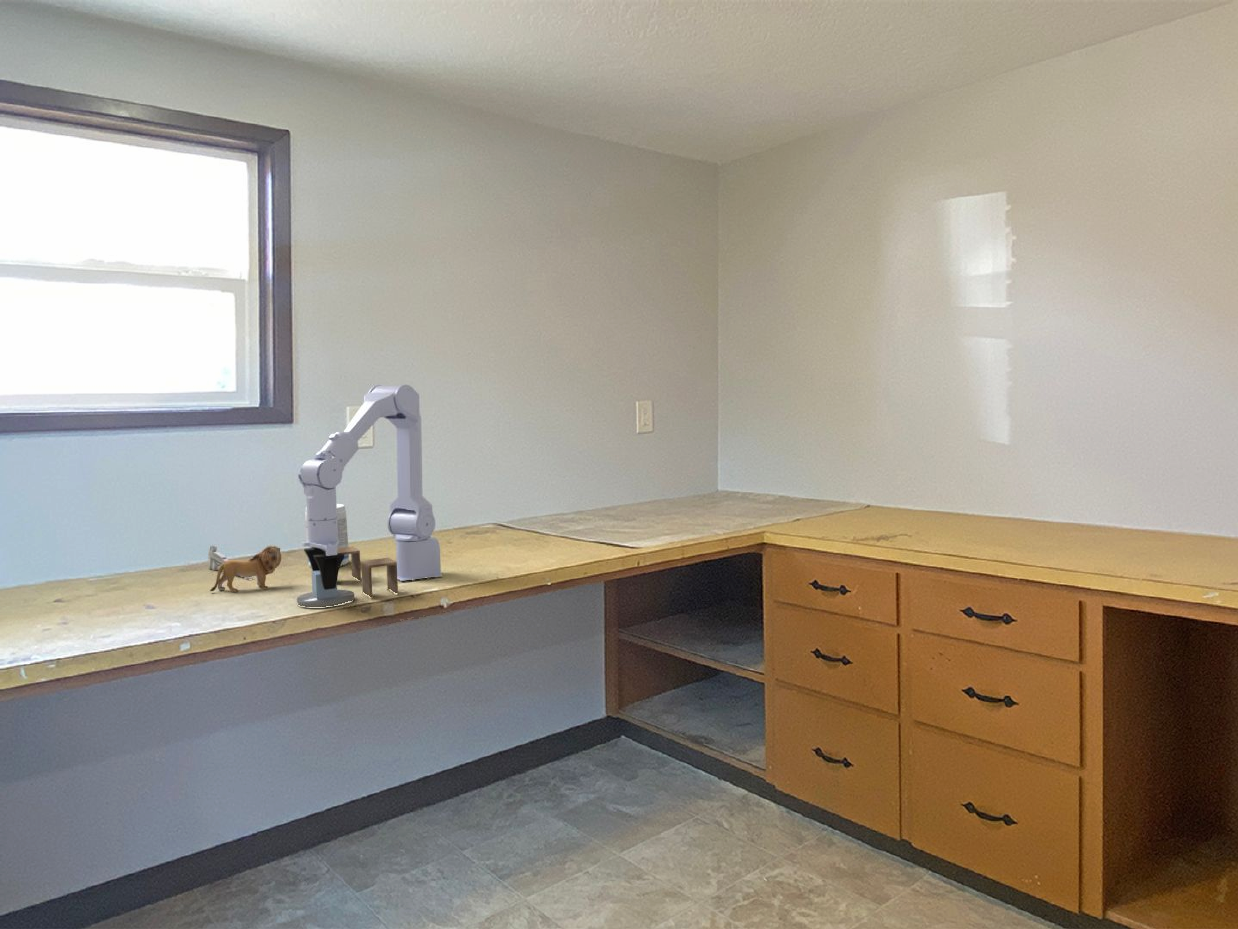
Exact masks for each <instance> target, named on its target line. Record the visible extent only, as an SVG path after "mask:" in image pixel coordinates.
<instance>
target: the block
mask: <svg viewBox="0 0 1238 929" xmlns="http://www.w3.org/2000/svg"><path fill="white" fill-rule="evenodd" d="M311 589H312V591H311V592H312V593H313V596H314V597H315V598H316V599H324V598H331V597H337V590H338V582H337V583H336V588H335V589H328V590H325V589H324V587H323V584H322V579H321V574H320V570H319V571H312V570H311Z"/></svg>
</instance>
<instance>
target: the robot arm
mask: <svg viewBox="0 0 1238 929" xmlns="http://www.w3.org/2000/svg"><path fill="white" fill-rule="evenodd" d="M420 412H421V411H420V394H419V393H418V392H417V391H416V390H415V388H413V386H411V385H409V384H401V385H380V384H379V385H373V386H372V387H371V388H370V389H369V390H368V392H367V393H366V394H365V395H364V396H363V403H362V405H361V406H360V408H359V409H358V411H357V412H356V413H355V415H354V416H353V417H352V419H351V420H350V421H349V423H348V425H347V426H346V427H345V429H344V431H336V432H335V433H330V435H329V437H328V441H327V442H326V443H325V444H324V446H323V447H322V448H321V449H320V450H319V451H317V453H316V454H315V456H314V458H311V459H308V460H306V461H305V462H304V463H303V465H302V466H301V467H300V471H299V473H298V474H297V478H298V480H299V483H300V484H301V485H302V488H303V493H304V495H305V503H306V504H305V505H306V507H307V525H308V541H307V540H306V541H302V542H301V546H302V547H306V548H304V549H303V551H304V553H305V554H306V556H307V559H308V558H309V561H310V564H311V571H319V570H320V574H321V579H322V584H323V587H324V589H325V590H328V589H335V588H336V583H337V584H338V576H339V571H340V567H341V566H340V565H341V563H342V561H343V559H344V554H343V553H341V554H337V546H338V544H339V539H338V525H337V504H338V503H337V486H338V485H339V484H341V482H342V478H343V472H344V470H345V467H346V465H347V464H348V463H349V462H350V461H351V459H352V458H354V456H355V454H356V453H357V452H358V450H359V441H360V439H361V438H363V436H364V435H365V434H366V433H367V432H368V431H369V430H370V429H371V427H373V425H374V424H376V422H377V421H378V420H379V419H381V418H383V419H386V420H388V421H389V422H390V423H391V424H392V425H393V426H394V427H395V428H396V471H397V474H396V475H397V482H396V483H397V497H396V498H395V499H394V500H393V501H392V502H391V503H390V505H389V514H388V516H387V524H386V526H387V529H388V532H389V533H390V534H391V535H392V536H393V539H394V540H395V554H396V555H395V556H396V558H395V559H396V562H397V578H398V579H399V580H401V581H405V580H412V579H419V578H425V577H435V578H440V577H439V576H441V577H442V576H443V575H442V573H441V572H442V570H441V567H442V566H441V547H440V543H439V540H438V538H437V537H436V536H432V535H433V533H434V531H435V529H436V518H435V516H434V513H433V512H434V511H433V505H432V503H431V502H430V501H428V500H427V498H426V497H425V496H424V495H423V460H422V459H423V455H422V454H423V452H422V450H423V448H422V445H423V444H422V442H423V441H422V439H423V438H422V416H421V413H420ZM307 546H310V547H312V548H307ZM398 579H397V580H398ZM399 580H398V581H399ZM401 581H400V582H401ZM412 581H413V580H412ZM405 582H406V581H405Z"/></svg>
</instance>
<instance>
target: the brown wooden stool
mask: <svg viewBox="0 0 1238 929" xmlns="http://www.w3.org/2000/svg"><path fill="white" fill-rule="evenodd" d="M381 567H386V580H387V581H386V584H387V585H386V586H387V590H388V589H391V590H392V591H393V592H395V593H398V594H399V586H398V584H399V583H398V581H399V580H398V579H397V560H394V559H392V558H390V557H384V558H383V557H382V558H375V559H367V560H365V559H364V560H360V568H361V585H362V586H361V587H362V593H363V592H364V593H365V594H367V595H369V596H370V597H372V596H373V577H372V576H373V575H372V574H373V573H372V568H381Z"/></svg>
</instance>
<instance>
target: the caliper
mask: <svg viewBox="0 0 1238 929" xmlns="http://www.w3.org/2000/svg"><path fill="white" fill-rule="evenodd" d="M209 547H210V548H209V549H208V554H207V555H208V556H207V558H208V559H207V560H208V569H209V570H210V569H211V571H213V570H214V571H218V570H219V567H220V566H221V565H222V564H223V563H224V562H225V561H228V560H229V559H228V558H227V556H225V555H224V554H223V553H222V552H220V551H217V548H218V546H215V545H214V544H213V545H210V546H209ZM236 575H237V576H239V577H241V578H242V577H243V576H240V575H238V574H236ZM244 578H247V579H248V580H249V579H253V578H254V579H255V576H252V577H244ZM244 578H243V579H244ZM247 579H246V580H247Z"/></svg>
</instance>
